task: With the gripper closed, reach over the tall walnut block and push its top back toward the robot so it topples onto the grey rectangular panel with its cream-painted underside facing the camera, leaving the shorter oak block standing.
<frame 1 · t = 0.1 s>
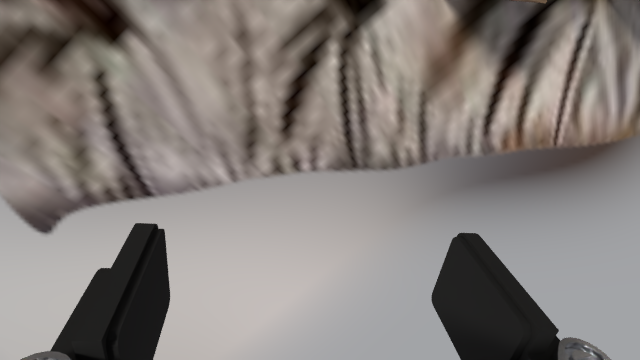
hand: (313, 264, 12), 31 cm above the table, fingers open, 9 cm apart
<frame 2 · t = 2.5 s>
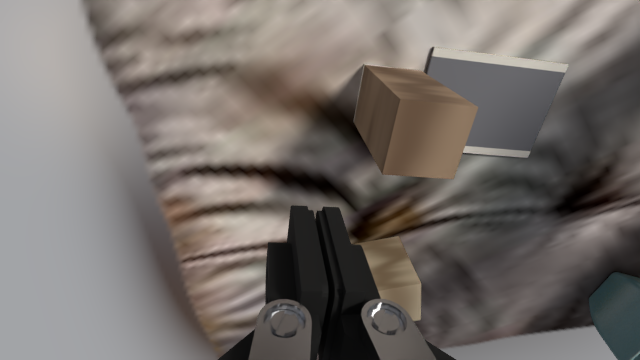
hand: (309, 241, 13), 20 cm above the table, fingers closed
grey rectangular panel: (483, 106, 33), on the table
walnut block: (386, 96, 32), on the table
oak block: (377, 257, 40), on the table
flower pot: (611, 286, 48), on the table
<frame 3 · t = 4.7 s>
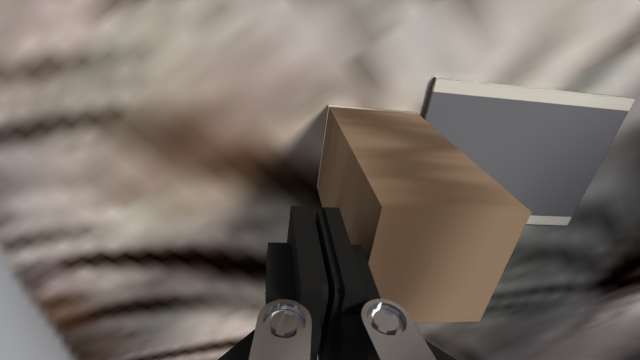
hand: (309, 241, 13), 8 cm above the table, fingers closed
grey rectangular panel: (508, 160, 23), on the table
walnut block: (364, 150, 21), on the table, touching gripper
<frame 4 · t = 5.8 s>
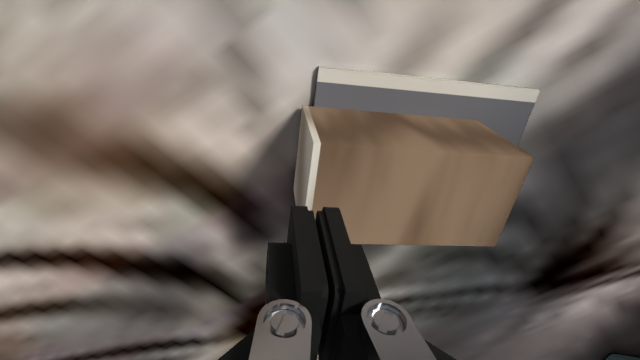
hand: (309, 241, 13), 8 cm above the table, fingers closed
grey rectangular panel: (413, 154, 21), on the table
walnut block: (301, 170, 18), point 3 cm above the table, tilted 90°, touching grey rectangular panel
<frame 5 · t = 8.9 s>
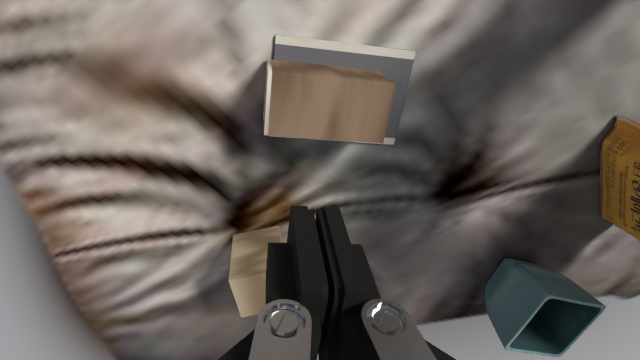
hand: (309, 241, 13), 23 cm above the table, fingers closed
grey rectangular panel: (339, 94, 34), on the table
walnut block: (265, 95, 30), point 3 cm above the table, tilted 90°, touching grey rectangular panel
oak block: (260, 247, 41), on the table
pancake mix bag: (621, 170, 43), on the table
flower pot: (506, 272, 49), on the table
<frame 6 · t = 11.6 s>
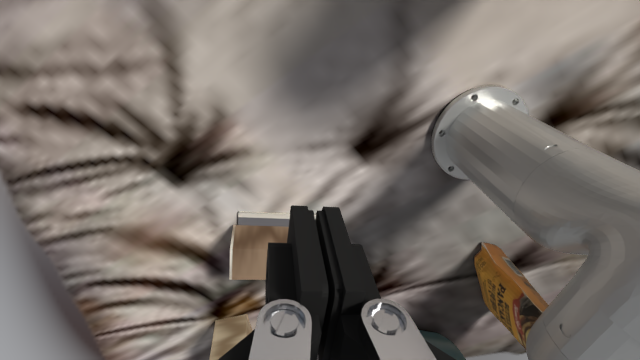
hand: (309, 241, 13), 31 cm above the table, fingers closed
grey rectangular panel: (282, 239, 51), on the table
walnut block: (231, 251, 48), point 3 cm above the table, tilted 90°, touching grey rectangular panel
oak block: (235, 327, 59), on the table
pancake mix bag: (494, 272, 61), on the table
flower pot: (419, 338, 66), on the table
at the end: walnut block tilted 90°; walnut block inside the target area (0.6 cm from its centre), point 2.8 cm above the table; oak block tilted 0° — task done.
